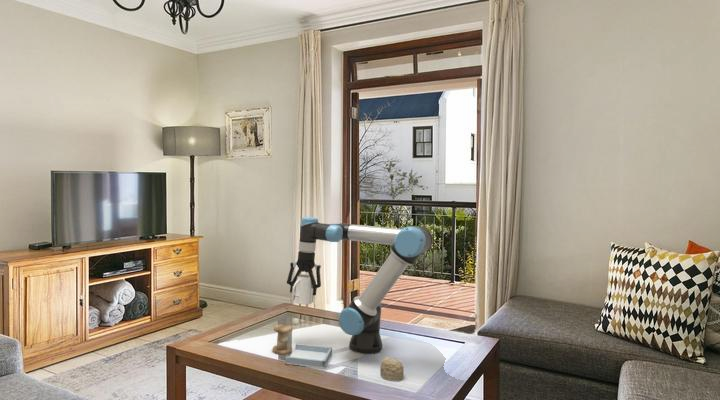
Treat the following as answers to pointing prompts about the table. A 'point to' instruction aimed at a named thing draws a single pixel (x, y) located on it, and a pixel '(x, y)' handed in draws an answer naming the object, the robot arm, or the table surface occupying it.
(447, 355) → the table surface
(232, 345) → the table surface
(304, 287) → the mug
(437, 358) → the table surface
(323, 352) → the blue-grey square tray
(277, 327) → the bobbin
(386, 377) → the sponge
